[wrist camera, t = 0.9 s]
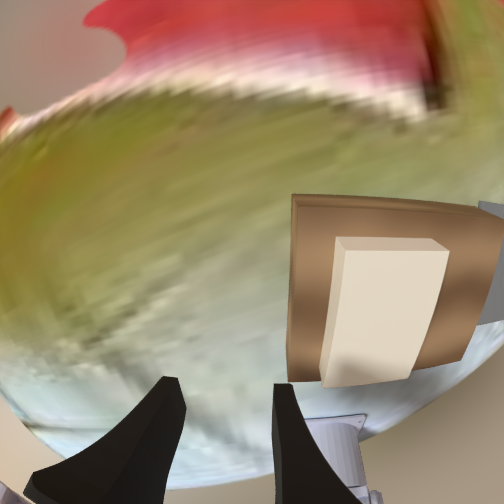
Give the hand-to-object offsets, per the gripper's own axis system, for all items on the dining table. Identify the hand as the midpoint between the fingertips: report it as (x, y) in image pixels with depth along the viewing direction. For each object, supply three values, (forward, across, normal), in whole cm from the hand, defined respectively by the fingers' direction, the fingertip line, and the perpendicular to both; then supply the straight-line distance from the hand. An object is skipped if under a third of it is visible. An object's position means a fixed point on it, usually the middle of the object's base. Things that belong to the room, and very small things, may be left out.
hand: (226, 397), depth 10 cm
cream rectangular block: (+6, -8, 0) cm, 10 cm away
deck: (+10, -10, 0) cm, 15 cm away
